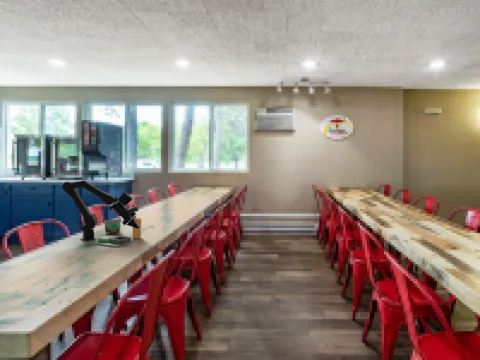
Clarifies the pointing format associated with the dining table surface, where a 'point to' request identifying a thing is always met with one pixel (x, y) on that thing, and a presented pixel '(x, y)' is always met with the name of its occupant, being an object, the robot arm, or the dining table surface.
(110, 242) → the green domed base plate
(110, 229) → the food container
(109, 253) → the dining table surface
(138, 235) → the chute block
